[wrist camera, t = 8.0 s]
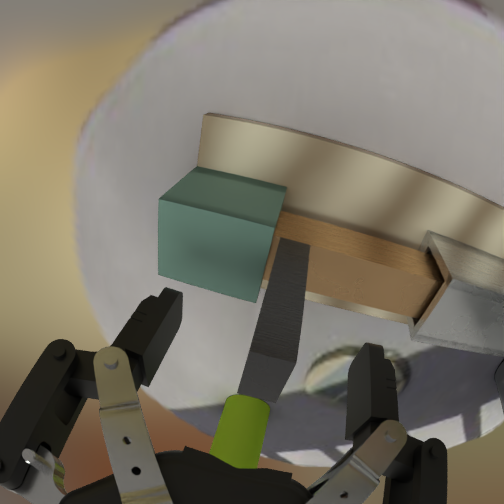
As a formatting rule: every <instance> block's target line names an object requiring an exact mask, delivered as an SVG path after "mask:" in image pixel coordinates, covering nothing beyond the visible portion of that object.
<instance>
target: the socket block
mask: <svg viewBox="0 0 504 504" xmlns="http://www.w3.org/2000/svg"><path fill="white" fill-rule="evenodd" d="M286 189H287V187H285V186H281V185H277V184H273V183H269V182H265V181H261V180H257V179H253V178H249V177H244V176H240V175H236V174H231V173H227V172H222V171H218V170H213V169H208V168H204V167H199V166H197V167H196V168H194V169H193V170H192V171H191V172H190V173H188V174H187V175H186V176H185V177H184V178H182V179H181V180H180V181H179V182H178V183H177V184H175V185H174V186H173V187H172V188H171V189H170V190H168V191H167V192H166V193H165V194H164V195H163V196H162V197H160V198H159V205H158V275H161V276H164V277H167V278H171V279H174V280H177V281H180V282H184V283H187V284H190V285H194V286H197V287H200V288H204V289H207V290H211V291H214V292H218V293H221V294H225V295H228V296H232V297H235V298H239V299H242V300H246V301H250V302H253V303H256V301H257V298H258V294H259V291H260V287H261V284H262V281H263V279H262V278H263V274H264V270H265V266H266V262H267V258H268V254H269V250H270V246H271V242H272V238H273V234H274V231H275V227H276V224H277V221H278V217H279V214H280V211H281V210H282V206H283V202H284V198H285V194H286Z"/></svg>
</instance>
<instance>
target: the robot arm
mask: <svg viewBox="0 0 504 504" xmlns="http://www.w3.org/2000/svg"><path fill="white" fill-rule="evenodd" d="M182 304H183V293H182V292H179V291H176V290H173V289H170V288H167V287H166V288H164V289H163V291H162V292H161V294H160V295H159V297H155V296H152V295H151V296H149V297H148V298H146V299H144V300H143V301H141V303H140V304H139V306H138V307H137V309H136V311H135V312H134V313H133V314H132V316H131V318H130V319H129V320H128V322H127V323H126V325H125V326H124V327H123V329H122V330H121V332H120V333H119V335H118V336H117V338H116V339H115V341H114V342H113V344H112V345H111V346H110V347H105V348H102V349H101V350H99V351H98V352H89V351H83V350H76V349H75V347H74V345H73V344H72V343H71V342H69V341H68V340H64V339H58V340H55V341H53V342H51V343H50V344H49V345H48V346H47V347H46V349H45V350H44V352H43V353H42V355H41V356H40V358H39V359H38V361H37V362H36V364H35V365H34V367H33V368H32V370H31V371H30V373H29V374H28V376H27V378H26V379H25V381H24V382H23V384H22V386H21V387H20V389H19V391H18V392H17V394H16V396H15V397H14V399H13V401H12V402H11V404H10V406H9V408H8V409H7V411H6V413H5V415H4V417H3V418H2V420H1V422H0V485H1V486H3V487H4V488H5V489H7V490H10V491H12V492H14V493H16V494H19V495H21V496H22V497H23V498H25V499H26V500H28V501H29V502H31V503H32V504H362V503H363V502H364V501H365V500H366V499H367V498H368V497H369V496H370V494H371V493H372V492H373V491H374V490H375V489H376V487H377V486H378V484H379V482H380V481H379V478H380V476H381V475H383V476H386V479H385V489H384V497H383V504H447V449H446V447H445V445H444V443H443V442H442V441H441V440H439V439H437V438H430V439H428V440H426V441H425V442H423V441H420V440H418V439H416V438H413V437H411V436H409V435H408V434H407V432H406V429H405V428H404V426H403V425H402V424H401V423H400V422H399V417H398V401H397V390H396V382H395V380H396V377H395V369H394V367H393V365H392V363H391V361H390V360H389V359H384V349H383V346H381V345H376V344H371V343H365V344H364V345H363V347H362V348H361V350H360V351H359V353H358V354H357V356H356V357H355V359H354V360H353V361H352V363H351V365H350V368H349V372H348V393H347V416H346V433H345V440H352V441H353V447H352V448H351V449H350V450H349V451H348V452H347V453H346V454H345V455H344V456H343V457H342V458H341V459H340V460H339V461H338V462H337V463H336V464H335V465H334V466H333V467H332V468H331V469H330V470H329V471H327V473H325V474H324V475H323V476H322V477H321V478H319V479H318V480H317V481H316V482H314V483H313V484H312V485H311V486H309V487H308V488H307V489H306V488H305V487H304V486H303V485H301V484H300V483H298V482H297V481H295V480H293V479H291V477H292V473H288V472H283V471H277V470H272V469H267V468H236V467H233V466H232V465H230V464H228V463H226V462H224V461H222V460H220V459H219V458H217V457H215V456H213V455H211V454H208V453H205V452H201V451H198V450H195V449H193V448H189V447H187V446H185V448H184V450H183V451H179V450H173V451H164V452H159V453H156V454H155V451H154V448H153V445H152V442H151V439H150V436H149V433H148V430H147V427H146V423H145V420H144V417H143V413H142V409H141V406H140V403H139V398H138V395H137V391H138V389H139V388H140V386H141V384H142V385H144V386H147V387H149V385H150V383H151V381H152V379H153V377H154V375H155V374H156V372H157V370H158V368H159V366H160V364H161V362H162V360H163V358H164V356H165V354H166V352H167V350H168V348H169V347H170V345H171V343H172V341H173V339H174V337H175V335H176V333H177V331H178V329H179V327H180V324H181V321H182ZM495 382H496V385H497V389H498V392H499V396H500V400H501V404H502V409H503V413H504V361H503V362H502V364H501V365H500V366H499V368H498V369H497V371H496V374H495ZM87 398H92V399H98V400H99V402H100V409H99V414H100V420H101V425H102V430H103V434H104V438H105V443H106V447H107V450H108V455H109V459H110V462H111V466H112V469H113V473H114V474H112V475H109V476H107V477H105V478H103V479H100V480H98V481H96V482H93V483H91V484H88V485H86V486H84V487H82V488H78V489H76V490H74V491H71V492H69V493H68V494H67V492H66V491H65V489H64V484H63V479H64V475H65V470H64V466H63V464H62V462H61V461H60V460H59V459H58V458H59V456H60V454H61V452H62V450H63V447H64V445H65V443H66V441H67V439H68V437H69V435H70V433H71V431H72V429H73V426H74V424H75V422H76V420H77V418H78V416H79V414H80V412H81V410H82V408H83V406H84V404H85V402H86V400H87Z"/></svg>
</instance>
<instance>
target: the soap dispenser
mask: <svg viewBox="0 0 504 504" xmlns="http://www.w3.org/2000/svg"><path fill="white" fill-rule="evenodd" d="M269 412H270V407H269V406H268V404H267V403H265V402H264V401H262V400H260V399H258V398H254V397H250V396H246V395H233V396H230V397H228V398H227V399H226V402H225V406H224V409H223V412H222V415H221V418H220V421H219V424H218V428H217V431H216V434H215V437H214V440H213V443H212V447H211V449H210V452H209V454H211V455H213V456H215V457H217V458H219V459H220V460H222V461H224V462H226V463H228V464H230V465H232V466H233V467H236V468H257V465H258V461H259V457H260V453H261V448H262V444H263V440H264V435H265V431H266V426H267V422H268V417H269Z"/></svg>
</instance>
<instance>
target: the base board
mask: <svg viewBox="0 0 504 504" xmlns="http://www.w3.org/2000/svg"><path fill="white" fill-rule="evenodd" d="M197 166H199V167H204V168H208V169H213V170H218V171H222V172H227V173H231V174H236V175H240V176H244V177H249V178H253V179H257V180H261V181H265V182H269V183H273V184H277V185H281V186H285V187H287V189H286V194H285V198H284V202H283V206H282V210H281V211H284V212H288V213H291V214H295V215H299V216H303V217H306V218H310V219H314V220H317V221H321V222H324V223H328V224H332V225H335V226H339V227H342V228H346V229H349V230H353V231H356V232H359V233H363V234H366V235H370V236H373V237H376V238H380V239H383V240H386V241H389V242H393V243H396V244H399V245H402V246H405V247H409V248H412V249H415V250H418V248H419V246H420V244H421V242H422V240H423V238H424V236H425V234H426V232H427V230H430V231H433V232H436V233H439V234H441V235H444V236H447V237H449V238H452V239H455V240H457V241H460V242H463V243H465V244H468V245H471V246H473V247H476V248H478V249H481V250H483V251H486V252H488V253H491V254H493V255H495V256H498V257H500V258H503V259H504V208H503V207H501V206H499V205H498V204H496V203H494V202H492V201H490V200H488V199H486V198H484V197H481V196H479V195H477V194H475V193H473V192H471V191H469V190H467V189H464V188H462V187H460V186H458V185H456V184H453V183H451V182H449V181H446V180H444V179H442V178H439V177H437V176H435V175H432V174H430V173H427V172H425V171H422V170H420V169H417V168H414V167H412V166H409V165H407V164H404V163H401V162H398V161H396V160H393V159H390V158H387V157H384V156H381V155H379V154H376V153H373V152H370V151H366V150H363V149H360V148H357V147H354V146H351V145H347V144H344V143H341V142H337V141H334V140H330V139H327V138H323V137H320V136H316V135H312V134H308V133H304V132H300V131H296V130H292V129H288V128H284V127H280V126H275V125H271V124H266V123H261V122H257V121H252V120H247V119H242V118H236V117H231V116H225V115H219V114H213V113H207V114H205V115H203V122H202V130H201V138H200V146H199V155H198V164H197ZM267 285H268V281H267V280H263V281H262V284H261V287H260V288H264V289H267ZM305 299H306V300H310V301H314V302H317V303H321V304H325V305H329V306H333V307H337V308H341V309H345V310H350V311H354V312H358V313H362V314H366V315H370V316H374V317H379V318H383V319H387V320H392V321H396V322H400V323H405V324H408V322H407V317H406V316H405V315H401V314H397V313H393V312H388V311H384V310H380V309H376V308H372V307H368V306H364V305H360V304H356V303H352V302H348V301H344V300H340V299H336V298H332V297H328V296H324V295H320V294H316V293H313V292H309V291H306V292H305Z"/></svg>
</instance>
